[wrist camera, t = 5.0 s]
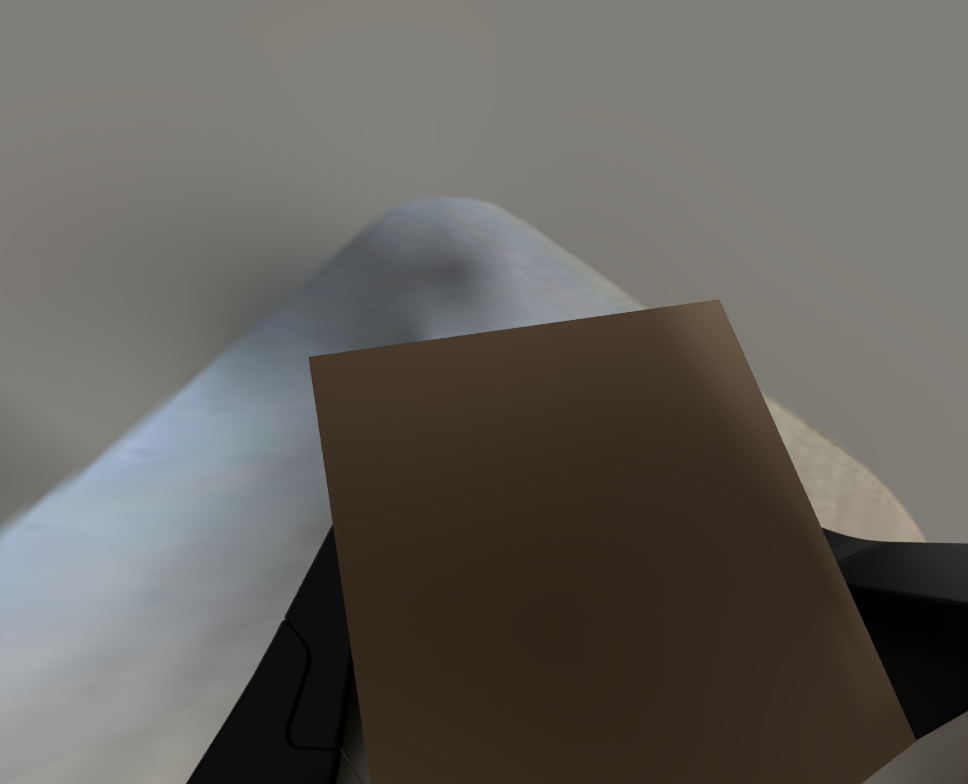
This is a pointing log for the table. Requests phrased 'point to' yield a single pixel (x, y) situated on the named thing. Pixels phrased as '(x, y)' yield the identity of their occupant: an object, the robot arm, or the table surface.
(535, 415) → the walnut block
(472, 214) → the table surface
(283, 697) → the robot arm
